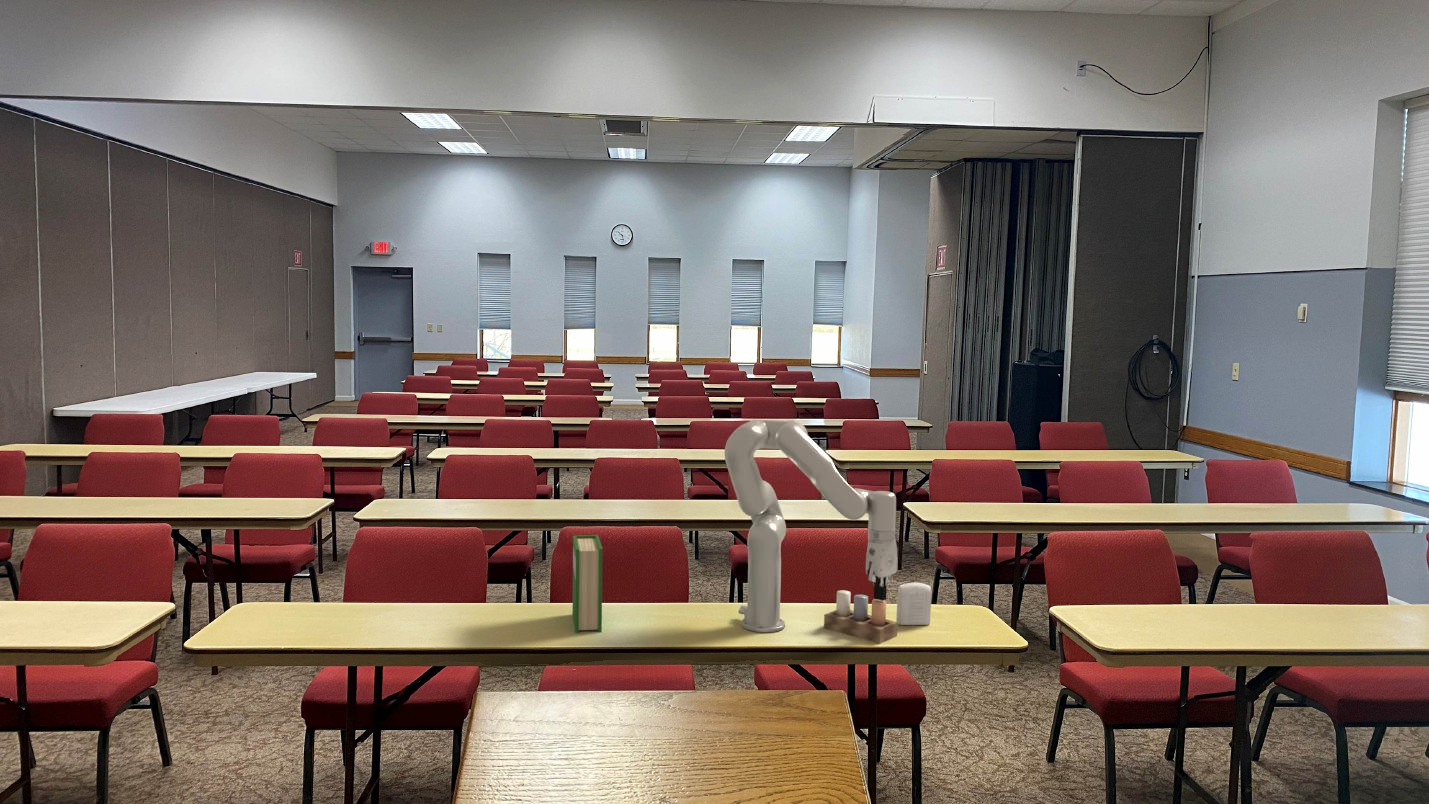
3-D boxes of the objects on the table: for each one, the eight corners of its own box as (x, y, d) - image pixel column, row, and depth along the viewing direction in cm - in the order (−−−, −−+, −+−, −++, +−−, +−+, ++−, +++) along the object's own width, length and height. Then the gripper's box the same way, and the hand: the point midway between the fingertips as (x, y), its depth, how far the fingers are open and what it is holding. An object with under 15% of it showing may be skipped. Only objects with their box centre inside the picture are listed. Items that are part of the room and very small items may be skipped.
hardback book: (601, 632, 258) (602, 548, 256) (575, 633, 256) (576, 549, 254) (597, 613, 275) (598, 535, 273) (572, 614, 273) (573, 535, 272)
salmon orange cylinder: (868, 625, 258) (869, 600, 258) (876, 621, 261) (876, 598, 261) (880, 628, 255) (881, 603, 255) (888, 625, 258) (889, 600, 258)
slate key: (850, 620, 262) (851, 596, 262) (858, 617, 265) (859, 593, 265) (862, 623, 259) (863, 599, 259) (870, 620, 262) (870, 596, 262)
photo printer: (927, 621, 274) (928, 580, 273) (932, 625, 270) (933, 584, 269) (894, 621, 273) (895, 581, 272) (898, 626, 268) (900, 585, 267)
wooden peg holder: (823, 627, 266) (824, 614, 265) (841, 621, 272) (841, 607, 272) (880, 643, 253) (880, 629, 253) (896, 636, 260) (897, 622, 259)
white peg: (833, 615, 266) (834, 592, 266) (841, 612, 269) (841, 589, 269) (844, 618, 264) (845, 595, 263) (852, 615, 266) (853, 592, 266)
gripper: (878, 541, 248) (877, 607, 250) (906, 533, 259) (905, 596, 261) (855, 537, 253) (854, 601, 255) (884, 529, 264) (882, 591, 266)
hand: (880, 598), depth 258 cm, fingers closed
